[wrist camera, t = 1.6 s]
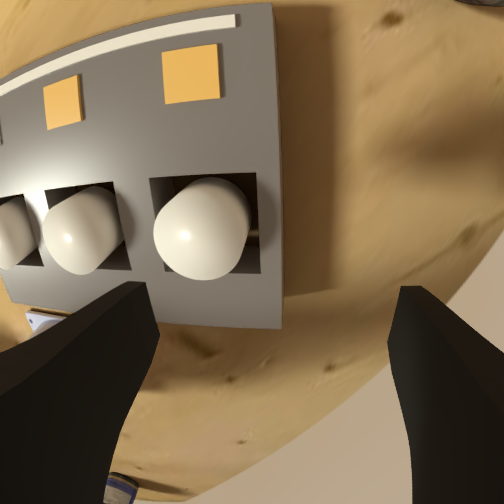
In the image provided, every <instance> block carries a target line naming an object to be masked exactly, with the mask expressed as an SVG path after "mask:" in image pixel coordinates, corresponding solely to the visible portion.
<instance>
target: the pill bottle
mask: <svg viewBox="0 0 504 504" xmlns="http://www.w3.org/2000/svg"><path fill="white" fill-rule="evenodd" d="M138 488H139V486H138V484H137V483H136V482H135V481H133V480H132V479H130V478H128V477H126V476H123V475H121V474H118V473H109V474H108V479H107V483H106V489H105V495H104V500H103V504H133V502H134V499H135V497H136V494H137V491H138Z"/></svg>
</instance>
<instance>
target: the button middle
mask: <svg viewBox="0 0 504 504" xmlns="http://www.w3.org/2000/svg"><path fill="white" fill-rule="evenodd" d="M43 237H44V241H45V244H46V246H47V249H48V251H49V253H50V254H51V256H52V257H53V259H54V260H55V261H56V262H57V263H58V264H59V265H60V266H61V267H62V268H64V269H65V270H67V271H69V272H71V273H73V274H77V275H85V274H89V273H91V272H93V271H94V270H95V269H96V268H97V267H98V266H99V265H100V264H101V263H102V262H103V261H104V260H105V259H106V258H107V257H108V256H109V255H110V254H111V253H112V252H113V251H114V250H115V249H116V248H117V247H118V246H119V245H120V244H121V243H122V242H123V240H124V234H123V230H122V225H121V220H120V215H119V210H118V205H117V200H116V196H115V195H114V194H113V193H111V192H110V191H108V190H107V189H104V188H102V187H97V186H91V187H87V188H85V189H83V190H81V191H80V192H78V193H76V194H74V195H72V196H71V197H69V198H67V199H66V200H64V201H62V202H60V203H59V204H57V205H55V206H54V207H52V208H51V209H50V210H49V211H48V212H47V214H46V216H45V218H44V222H43Z"/></svg>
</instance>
